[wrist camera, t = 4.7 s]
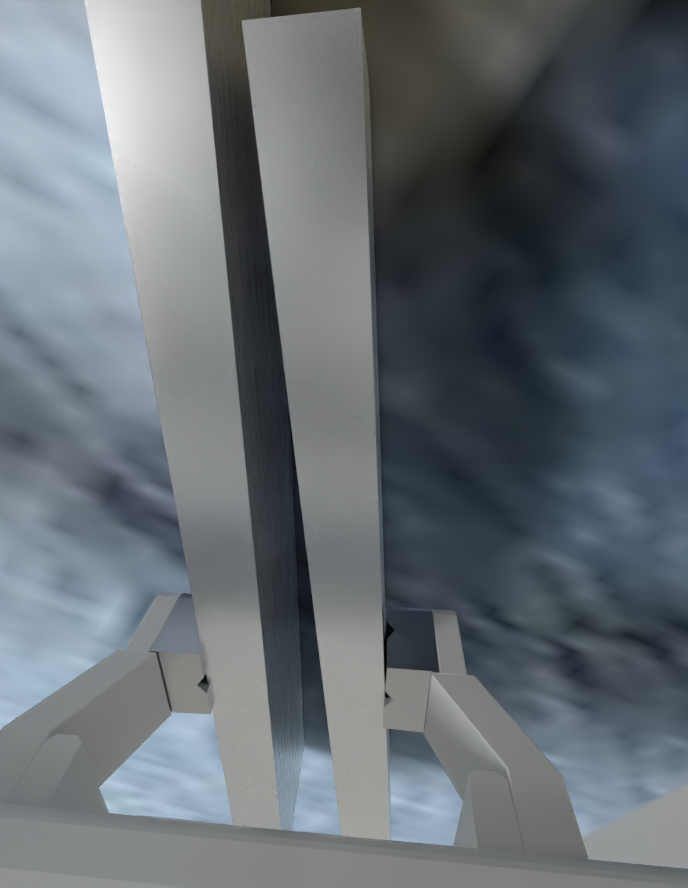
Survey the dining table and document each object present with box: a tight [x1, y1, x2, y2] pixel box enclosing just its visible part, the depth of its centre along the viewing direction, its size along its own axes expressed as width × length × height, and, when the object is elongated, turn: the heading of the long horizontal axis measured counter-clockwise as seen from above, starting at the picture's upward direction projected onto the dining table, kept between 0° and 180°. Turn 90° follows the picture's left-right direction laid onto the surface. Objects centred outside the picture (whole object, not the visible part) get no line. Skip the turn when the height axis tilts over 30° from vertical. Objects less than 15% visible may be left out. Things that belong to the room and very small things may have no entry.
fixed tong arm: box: [84, 0, 305, 831], centre depth 9 cm, size 24×1×4 cm, turn 179°
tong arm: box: [242, 8, 391, 840], centre depth 10 cm, size 18×1×4 cm, turn 3°
